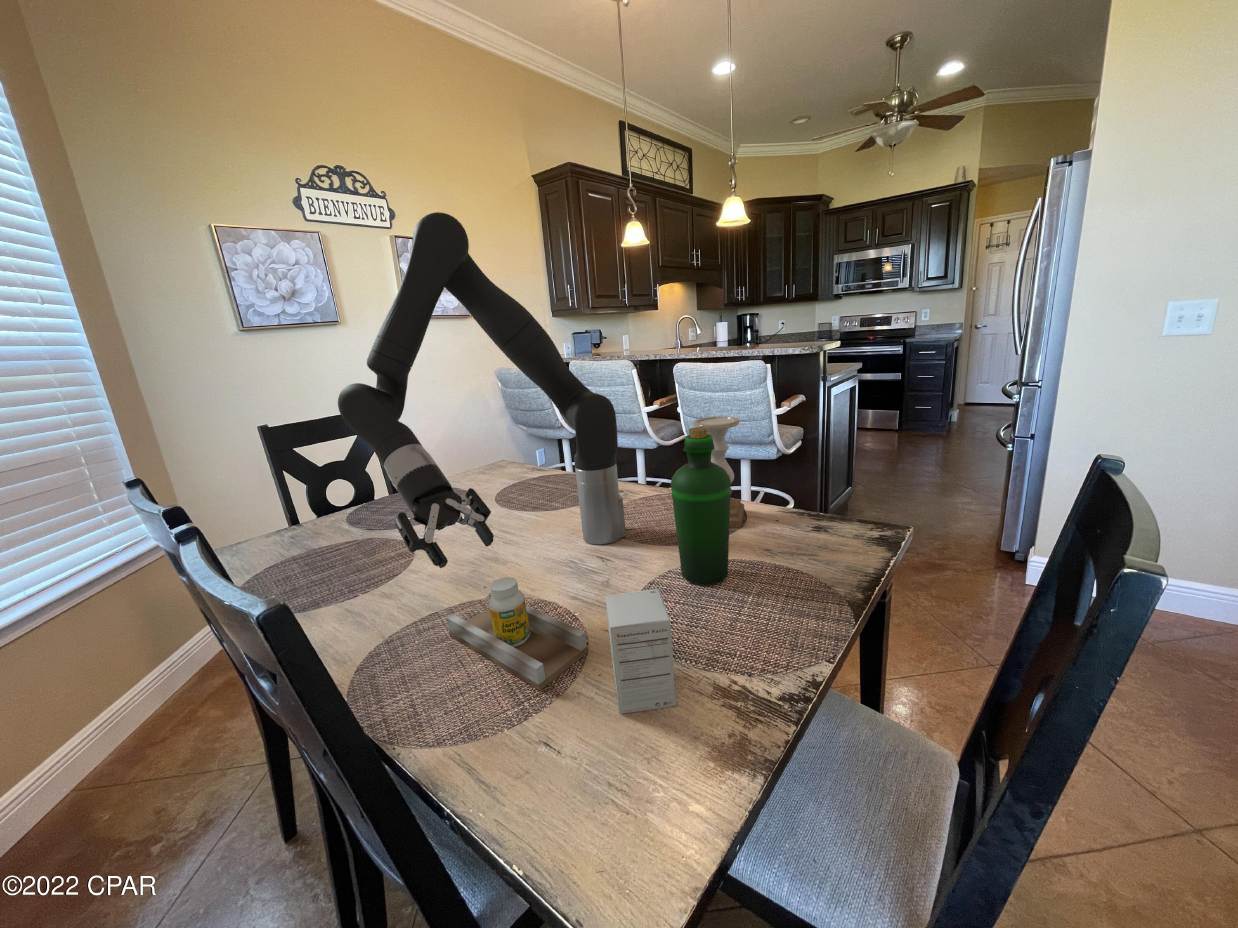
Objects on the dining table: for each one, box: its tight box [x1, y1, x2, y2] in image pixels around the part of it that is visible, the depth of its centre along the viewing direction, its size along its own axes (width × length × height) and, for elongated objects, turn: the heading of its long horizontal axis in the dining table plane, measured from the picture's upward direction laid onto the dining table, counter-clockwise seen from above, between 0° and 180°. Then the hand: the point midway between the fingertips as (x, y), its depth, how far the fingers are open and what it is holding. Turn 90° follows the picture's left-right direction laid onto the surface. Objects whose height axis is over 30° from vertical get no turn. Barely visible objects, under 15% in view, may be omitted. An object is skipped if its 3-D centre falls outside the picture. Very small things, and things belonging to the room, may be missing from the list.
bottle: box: [670, 426, 732, 586], centre depth 85 cm, size 11×11×28 cm
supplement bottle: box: [488, 576, 530, 647], centre depth 73 cm, size 5×5×10 cm
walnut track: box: [446, 592, 588, 692], centre depth 74 cm, size 22×9×4 cm, turn 50°
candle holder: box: [693, 416, 745, 529], centre depth 111 cm, size 11×11×24 cm
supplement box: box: [605, 588, 677, 715], centre depth 61 cm, size 7×7×13 cm
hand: (468, 553), depth 76 cm, fingers open, 8 cm apart
